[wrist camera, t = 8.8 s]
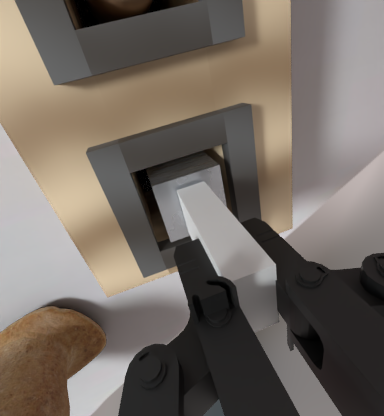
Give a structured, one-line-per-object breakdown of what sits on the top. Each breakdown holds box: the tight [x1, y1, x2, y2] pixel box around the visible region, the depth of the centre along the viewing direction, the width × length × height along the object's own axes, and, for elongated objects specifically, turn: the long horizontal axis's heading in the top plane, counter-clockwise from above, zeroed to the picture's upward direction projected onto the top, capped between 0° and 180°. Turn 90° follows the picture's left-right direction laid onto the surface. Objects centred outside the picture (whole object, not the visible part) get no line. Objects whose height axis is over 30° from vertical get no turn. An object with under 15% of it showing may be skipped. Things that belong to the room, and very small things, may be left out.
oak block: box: [0, 0, 292, 297], centre depth 15 cm, size 22×14×9 cm, turn 13°
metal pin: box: [146, 151, 227, 242], centre depth 17 cm, size 4×4×9 cm
